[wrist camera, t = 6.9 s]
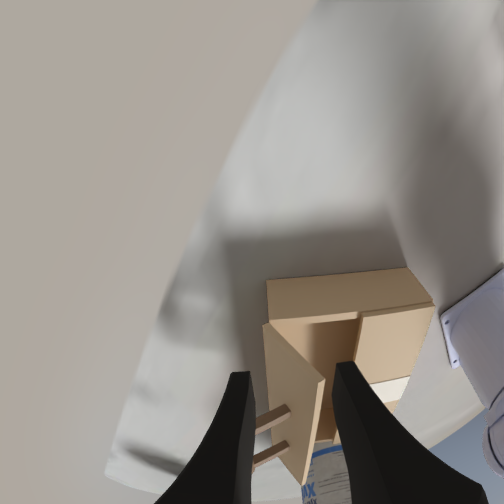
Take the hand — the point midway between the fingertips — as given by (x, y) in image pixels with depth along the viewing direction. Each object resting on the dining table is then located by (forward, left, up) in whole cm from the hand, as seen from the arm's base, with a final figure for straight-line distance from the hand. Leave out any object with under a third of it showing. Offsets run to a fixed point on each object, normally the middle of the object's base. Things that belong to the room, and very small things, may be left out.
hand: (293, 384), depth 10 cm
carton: (-10, +1, -10) cm, 14 cm away
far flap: (-8, +4, -3) cm, 10 cm away
